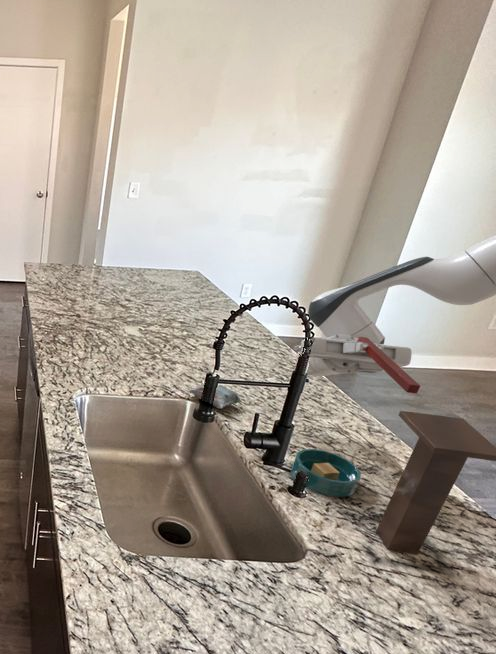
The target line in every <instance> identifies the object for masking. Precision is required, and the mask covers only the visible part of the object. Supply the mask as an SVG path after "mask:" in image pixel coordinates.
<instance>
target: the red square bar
mask: <svg viewBox="0 0 496 654" xmlns="http://www.w3.org/2000/svg"><path fill="white" fill-rule="evenodd" d="M359 342H361V343H368V347H367V348H368V350H367V352H366V353H367V354H368V355H369V356H370V357H371V358H372V359H373V360H374V361H375V362H376V363H377V364H378V365H379V366H380V367H381V368H382V369H383V372H385V373H386V374H387V375H388V376H389V377H390V378H391V379H392V380H393V381H394V382H396V383H397V384H398V386H399V387H400V388H402V389H403V390H404V391H405V392H406V393H409V394H415V395H417V394H418V392H419V390H420V388H421V385H420V384H419V383H418V382H417V381H416V380H415V379H413V377H412V376H410V375H409V374H408V373H407V372H406V371H405V370H404V369H403V368H402V367H399V366H398V365H397V364H396V363H395V362H394V361H393V360H391V359H390V358H389V357H388V356H387V355H386V354H385V353H384V352H383V351H381V350H380V349H379V348H378V347H377V346H376V345H375V344H374V343H373V342H372V341H370V340H369V339H368V338H365V337H359V339H358V341H357V343H359Z"/></svg>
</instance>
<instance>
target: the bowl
mask: <svg viewBox="0 0 496 654" xmlns="http://www.w3.org/2000/svg"><path fill="white" fill-rule="evenodd" d="M316 463H329V464H330V465H331V466H333V467H334V468H335V469H336V470H337V471H339V472H340V474H339V476H338V479H337V481H336V480H331V479H328V478H325V477H322V476H319V475H317V474H315V473H313V472H311V469H312V467H313V464H316ZM300 471H304V472H306V473H307V474H308V475H309V481H308V482H307V483H306V485H303V486H304V487H306V488H308V489H310V490H311V491H312V492H313V491H314V492H316V493H318V494H321V495H325V496H330V497H336V498H343V497H350V496H352V495H353V494H355V492H356V490H357V488H358V486H359V483H360V480H361V477H362V472H361V471H360V470H359V468H358V467H357V465H355V464H354V463H352V461H350V460H349V459H347V458H346V457H343V456H341V455H339V454H337V453H334V452H331V451H328V450H325V449H317V448H305V449H304V448H303V449H301V450H298V451H297V453H296V455H295V458H294V460H293V463H292V466H291V470H290V476H291V478H292V480H293V481H294V482H295V483H296V481H295V479H296V475H297V473H298V472H300Z"/></svg>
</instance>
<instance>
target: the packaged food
mask: <svg viewBox="0 0 496 654" xmlns="http://www.w3.org/2000/svg"><path fill="white" fill-rule="evenodd" d="M203 388H204V383H202V384H200V385H197V386H195V388H189V389H186V392H189V393H190V394H192V395H193V397H195V398H197V399H199V400H201V396H202V392H203ZM241 402H243V401H242V399H241V397H240V396H239V395H238V394H237V392H235V391H234V390H232V389H230V388H228V387H226V386H223V385H221V384H220V385H219V386H218V387H217V390H216V394H215V399H214V403H213V405H212V407H215V408H217V409H221V410H222V409H223V408H225V407H227V406H230V405H234V404H235V405H237V404H239V403H241Z"/></svg>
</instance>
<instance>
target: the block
mask: <svg viewBox="0 0 496 654" xmlns="http://www.w3.org/2000/svg"><path fill="white" fill-rule="evenodd" d="M311 472H313V473H315V474H317V475H319V476H322V477H325V478H328V479H331V480H336V481H337V479H338V476H339V474H340V472H339V471H337V470H336V469H335V468H334V467H333V466H331V465H330V464H329V463H316V464H313V467H312V469H311Z"/></svg>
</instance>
